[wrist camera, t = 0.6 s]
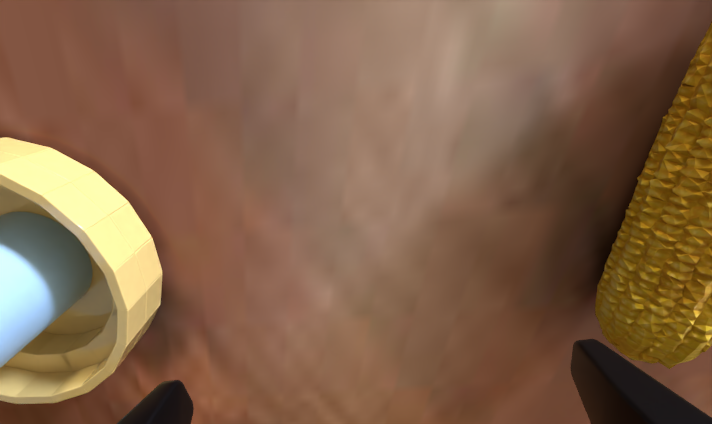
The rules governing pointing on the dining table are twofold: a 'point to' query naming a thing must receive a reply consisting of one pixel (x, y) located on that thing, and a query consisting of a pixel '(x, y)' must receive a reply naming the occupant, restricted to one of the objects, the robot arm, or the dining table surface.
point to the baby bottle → (36, 277)
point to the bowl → (109, 275)
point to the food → (667, 237)
